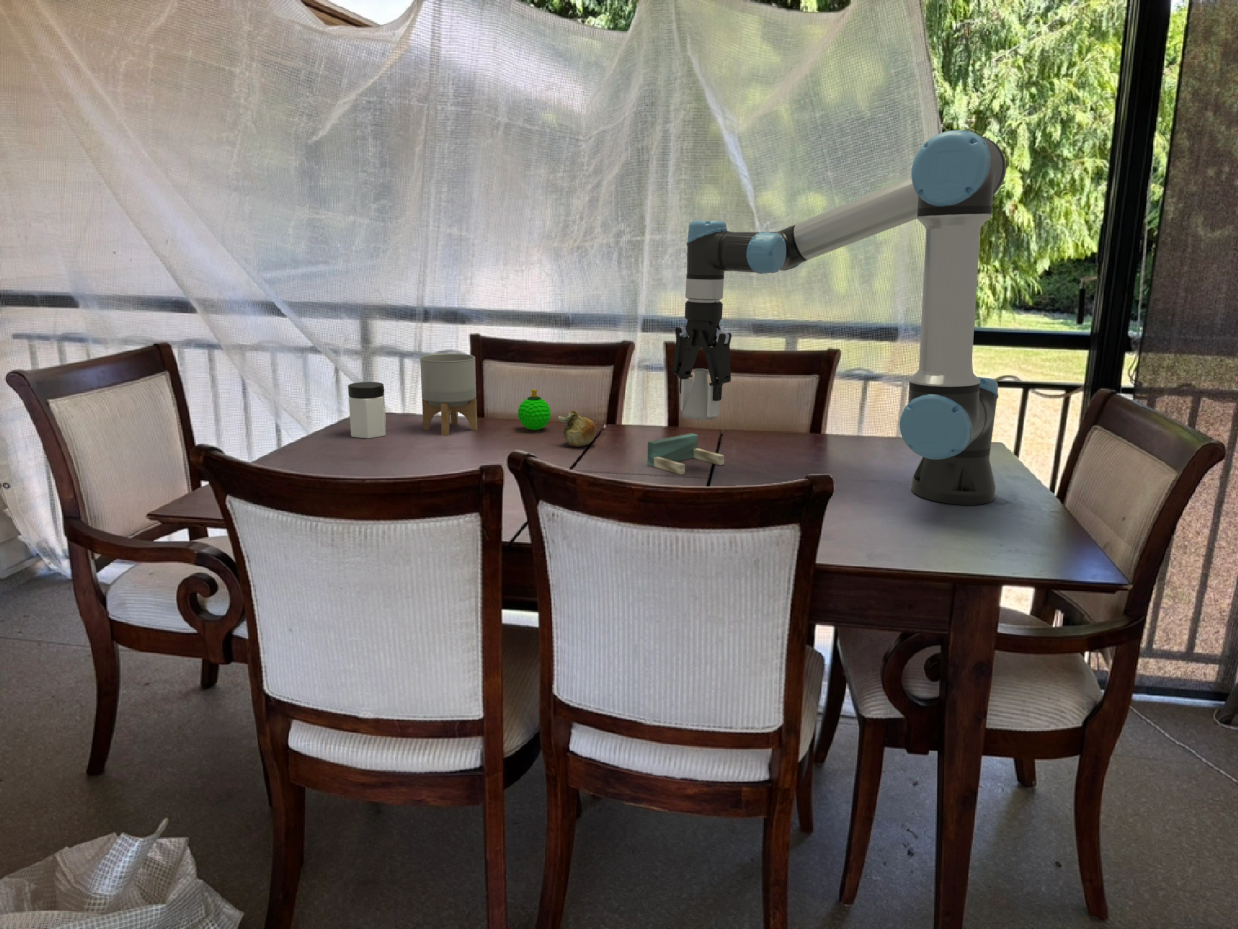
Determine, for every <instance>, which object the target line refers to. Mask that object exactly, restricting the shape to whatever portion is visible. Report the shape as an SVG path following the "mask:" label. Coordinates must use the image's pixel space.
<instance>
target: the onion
mask: <svg viewBox="0 0 1238 929" xmlns="http://www.w3.org/2000/svg"><path fill="white" fill-rule="evenodd" d="M557 419H558V421H559V422H561V423H565V424H566V425H565V426H564V429H563V438H564V439H565V441H566V442H567V443H568V445H570V446H573V447H574V448H575V447H576V448H579V447H584V446H587V445H588V446H589V445H590V443H591V442H592V441H593V439H594V438H595V437H596V435H597V426H596V424H595V422H594V421H593V420H592V419H590V418H589V417H585V416H581V415H580V414H579V412H578V411H576V410H571V412H570V411H569V412H568V415H567V417H566V416H565V417H564V416H561V415H558V418H557Z"/></svg>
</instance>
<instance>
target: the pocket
mask: <svg viewBox="0 0 1238 929" xmlns="http://www.w3.org/2000/svg"><path fill="white" fill-rule="evenodd" d="M698 442H699V434H698V433H697V434H696V433H692V432H690V433H686V434H681V435H676V436H670V437H665V438H660V439H656V440H649V441H647V466H648V465H649V466H651V467H653V468H658V469H660V470H664V471H667V472H671V473H673V474H677V475H685V474H686V473H685V472H686V464H685V463H681V462H680V461H685V460H689V459H696V460H699V461H703V462H706V463H711V464H714V465H717V466H724V465H725V455H724V454H720V453H717V452H713V451H709V450H706V449H702V448H698V444H699V443H698Z"/></svg>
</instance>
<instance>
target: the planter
mask: <svg viewBox="0 0 1238 929" xmlns="http://www.w3.org/2000/svg"><path fill="white" fill-rule="evenodd" d="M419 358H420V359H419V360H420V361H419V362H420V364H419V366H420V383H421V384H420V385H421V405H422V429H423V430H424V431H426V430H430V429H431V427H430V426H431V422H432V420H433V418H434V416H435V415H437V414H439V413H440V422H441V426H440V427H441V436H442V437H443V436H447V437H448V436H449V435H450V424H451V425H452V426H458V425H459V414H461V415H462V416H464V418H466V420H467V422H468V423H469V426H470V431H476V432H477V430H478V413H477V412H478V411H477V409H478V408H477V384H476V381H477V378H476V377H477V376H476V356H474V355H473V354H466V353H454V352H453V353H449V352H447V353H434V354H433V353H432V354H426V355H422V356H421V357H419Z"/></svg>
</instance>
